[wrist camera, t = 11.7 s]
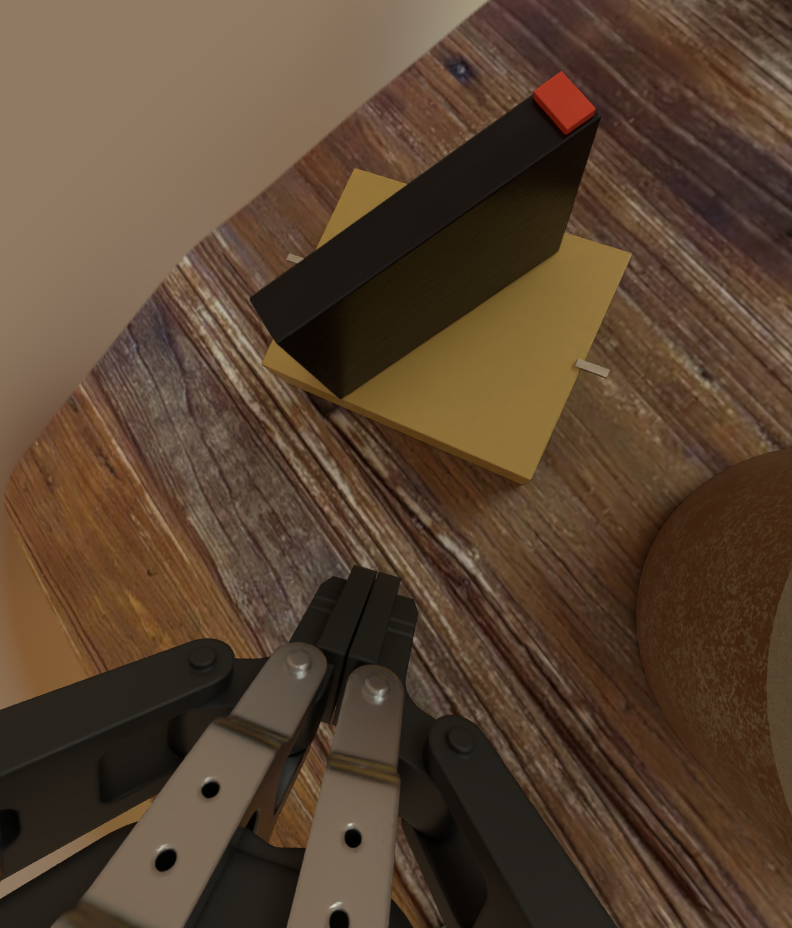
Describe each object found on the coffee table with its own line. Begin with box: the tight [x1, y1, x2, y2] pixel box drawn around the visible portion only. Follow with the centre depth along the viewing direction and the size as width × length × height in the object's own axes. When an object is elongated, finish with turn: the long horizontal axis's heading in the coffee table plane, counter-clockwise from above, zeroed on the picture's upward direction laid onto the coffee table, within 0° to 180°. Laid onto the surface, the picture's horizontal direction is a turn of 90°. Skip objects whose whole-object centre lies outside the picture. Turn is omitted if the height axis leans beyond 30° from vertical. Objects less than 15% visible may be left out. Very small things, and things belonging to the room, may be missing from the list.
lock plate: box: [262, 168, 632, 485], centre depth 22 cm, size 16×11×3 cm
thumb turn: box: [250, 71, 601, 399], centre depth 17 cm, size 12×2×7 cm, turn 122°
